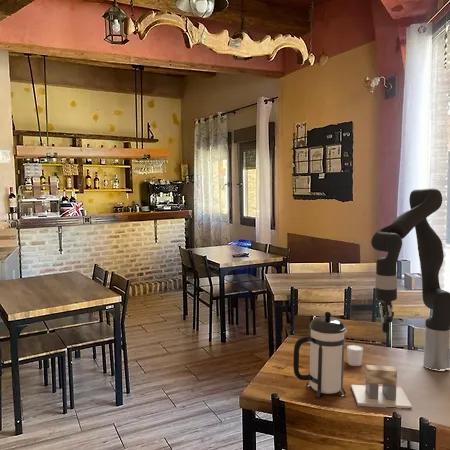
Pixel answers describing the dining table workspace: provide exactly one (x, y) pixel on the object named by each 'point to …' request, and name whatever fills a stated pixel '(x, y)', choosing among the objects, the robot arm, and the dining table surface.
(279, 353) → the dining table surface
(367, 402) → the bridge base
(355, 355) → the white cup
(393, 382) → the birch lintel
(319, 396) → the coffee press
